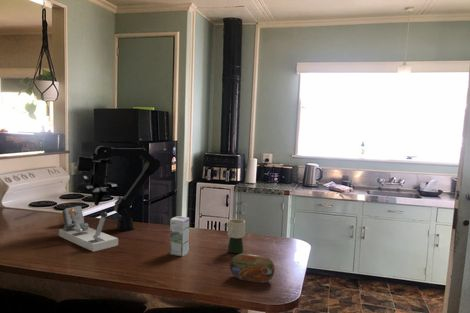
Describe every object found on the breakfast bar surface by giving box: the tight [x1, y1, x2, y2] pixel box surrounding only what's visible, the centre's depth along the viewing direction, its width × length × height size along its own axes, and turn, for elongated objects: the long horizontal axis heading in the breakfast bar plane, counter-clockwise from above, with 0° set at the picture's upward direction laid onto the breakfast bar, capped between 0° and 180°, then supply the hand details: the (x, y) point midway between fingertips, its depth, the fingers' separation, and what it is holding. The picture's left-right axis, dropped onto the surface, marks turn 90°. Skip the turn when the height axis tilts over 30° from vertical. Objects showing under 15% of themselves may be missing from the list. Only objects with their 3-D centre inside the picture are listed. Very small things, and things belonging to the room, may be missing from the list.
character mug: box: [227, 218, 246, 254], centre depth 142 cm, size 11×7×13 cm, turn 156°
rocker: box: [63, 224, 75, 229], centre depth 157 cm, size 3×4×1 cm
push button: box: [80, 222, 89, 230], centre depth 158 cm, size 4×4×2 cm
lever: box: [93, 211, 108, 240], centre depth 144 cm, size 3×3×12 cm
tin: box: [229, 252, 276, 284], centre depth 116 cm, size 15×3×8 cm, turn 69°
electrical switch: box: [61, 205, 85, 225], centre depth 177 cm, size 9×5×9 cm, turn 152°
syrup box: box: [169, 216, 190, 257], centre depth 139 cm, size 6×6×14 cm
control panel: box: [58, 226, 119, 252], centre depth 152 cm, size 11×30×3 cm, turn 51°
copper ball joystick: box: [68, 209, 83, 233], centre depth 150 cm, size 3×3×12 cm
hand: (96, 205), depth 164 cm, fingers closed
